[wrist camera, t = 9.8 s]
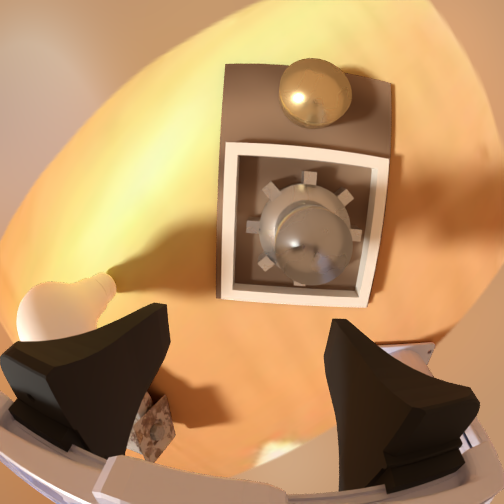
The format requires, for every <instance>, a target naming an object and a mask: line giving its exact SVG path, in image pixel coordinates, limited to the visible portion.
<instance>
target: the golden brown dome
mask: <svg viewBox="0 0 504 504" xmlns="http://www.w3.org/2000/svg"><path fill="white" fill-rule="evenodd" d="M351 99H352V90H351V86H350V83H349V81H348V79H347V77H346V76H345V74H344V73H343V72H342V71H341V70H340V69H339V68H338V67H336V66H335V65H333V64H332V63H330V62H327V61H325V60H321V59H315V58H308V59H302V60H299V61H297V62H294V63H293V64H291V65H290V66H289V67H288V68H287V69H286V70H285V71H284V73H283V75H282V77H281V80H280V87H279V104H280V107H281V109H282V111H283V113H284V114H285V116H286V117H287V118H288V119H289V120H290V121H291V122H293V123H294V124H296V125H298V126H300V127H303V128H307V129H321V128H324V127H327V126H329V125H330V124H332V123H333V122H335V121H336V120H337V119H339V118H340V117H341V116H342V115H343V114H345V112H346V111H347V110H348V108H349V106H350V103H351Z"/></svg>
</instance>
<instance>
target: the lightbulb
mask: <svg viewBox="0 0 504 504" xmlns="http://www.w3.org/2000/svg"><path fill="white" fill-rule="evenodd" d="M116 290H117V289H116V284H115V282H114V280H113V278H112V277H111V276H110V275H108V274H106V273H103V272H101V273H98V274H96V275H94V276H92V277H90V278H84V279H82V280H80V281H78V282H76V283H70V284H68V283H63V282H53V281H51V282H44V283H40V284H38V285H36V286H34V287H33V288H31V289H30V290H29V291H28V292H27V294H26V295H25V296H24V297H23V299H22V301H21V303H20V305H19V308H18V312H17V330H18V335H19V338H20V341H46V340H54V339H61V338H66V337H70V336H75V335H79V334H83V333H86V332H89V331H92V330H95V329H96V328H97V322H98V319H99V317H100V315H101V314H102V313H103V312H104V310H105V309H106V307H107V304H108V303H109V302H110V301H111V300H112V299H113V297H114V296H115V294H116Z"/></svg>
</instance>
